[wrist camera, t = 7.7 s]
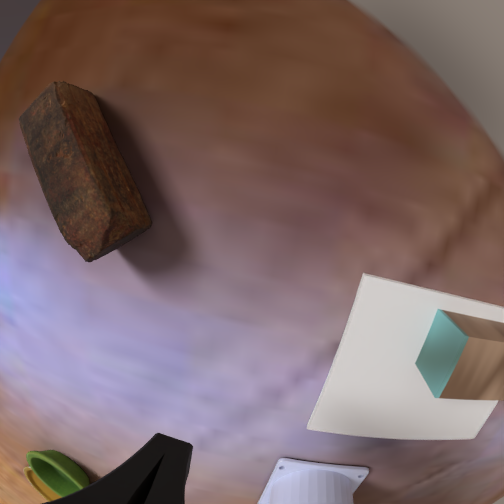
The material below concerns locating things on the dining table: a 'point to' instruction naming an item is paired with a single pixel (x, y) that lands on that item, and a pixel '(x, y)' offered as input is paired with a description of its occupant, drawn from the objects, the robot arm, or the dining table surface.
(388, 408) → the white mat
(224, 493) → the dining table surface
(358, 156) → the dining table surface
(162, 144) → the dining table surface
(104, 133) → the brick
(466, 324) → the walnut block
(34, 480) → the tableware set
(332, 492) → the robot arm
